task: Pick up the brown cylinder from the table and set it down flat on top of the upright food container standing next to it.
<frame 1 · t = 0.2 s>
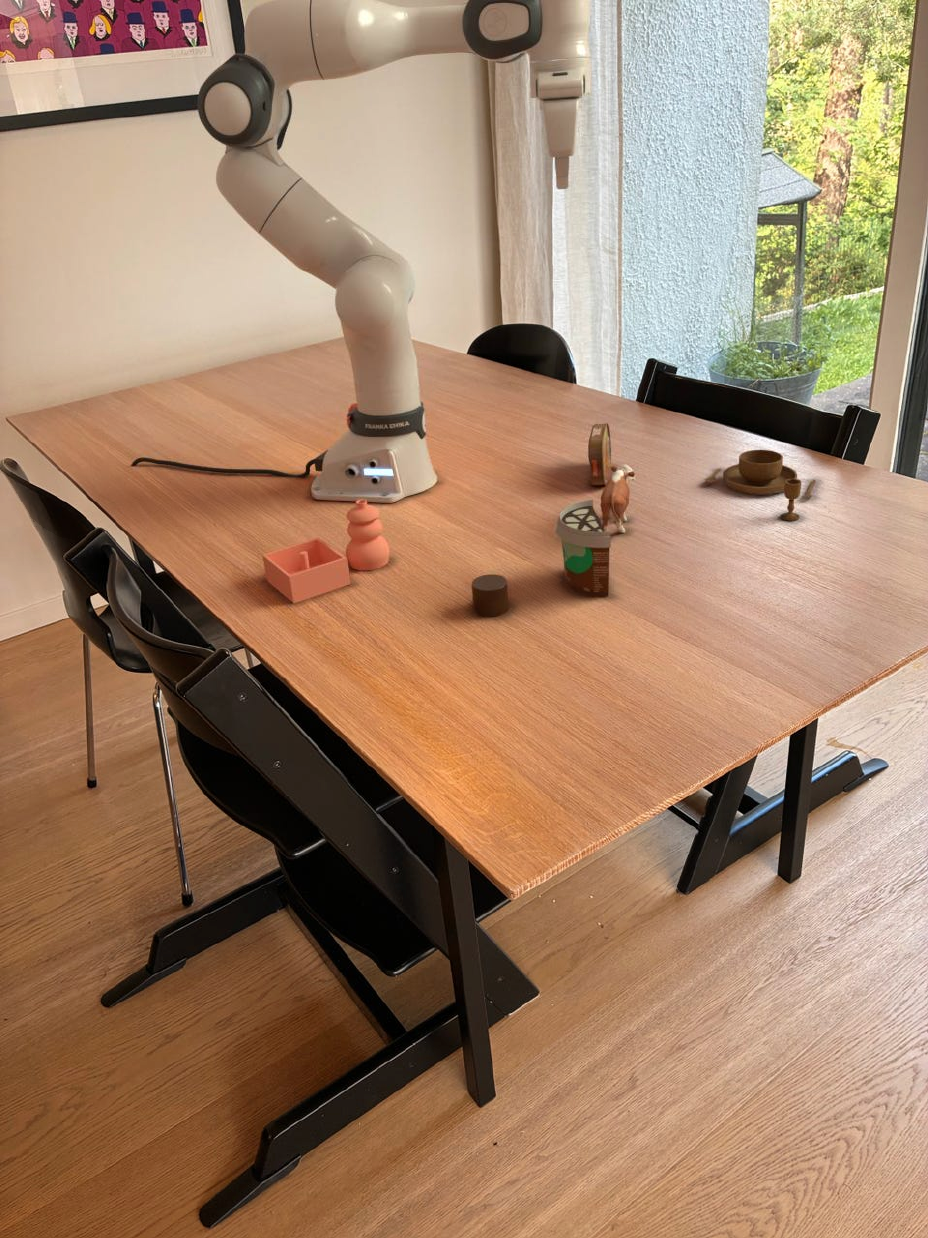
hand: (562, 185, 152), 48 cm above the table, tool pointing down, fingers open, 8 cm apart
bull figurine: (616, 525, 157), on the table
brown cylinder: (491, 608, 135), on the table
tin: (600, 477, 175), on the table
pottery: (335, 574, 148), on the table
food container: (579, 584, 140), on the table
place setting: (755, 494, 163), on the table
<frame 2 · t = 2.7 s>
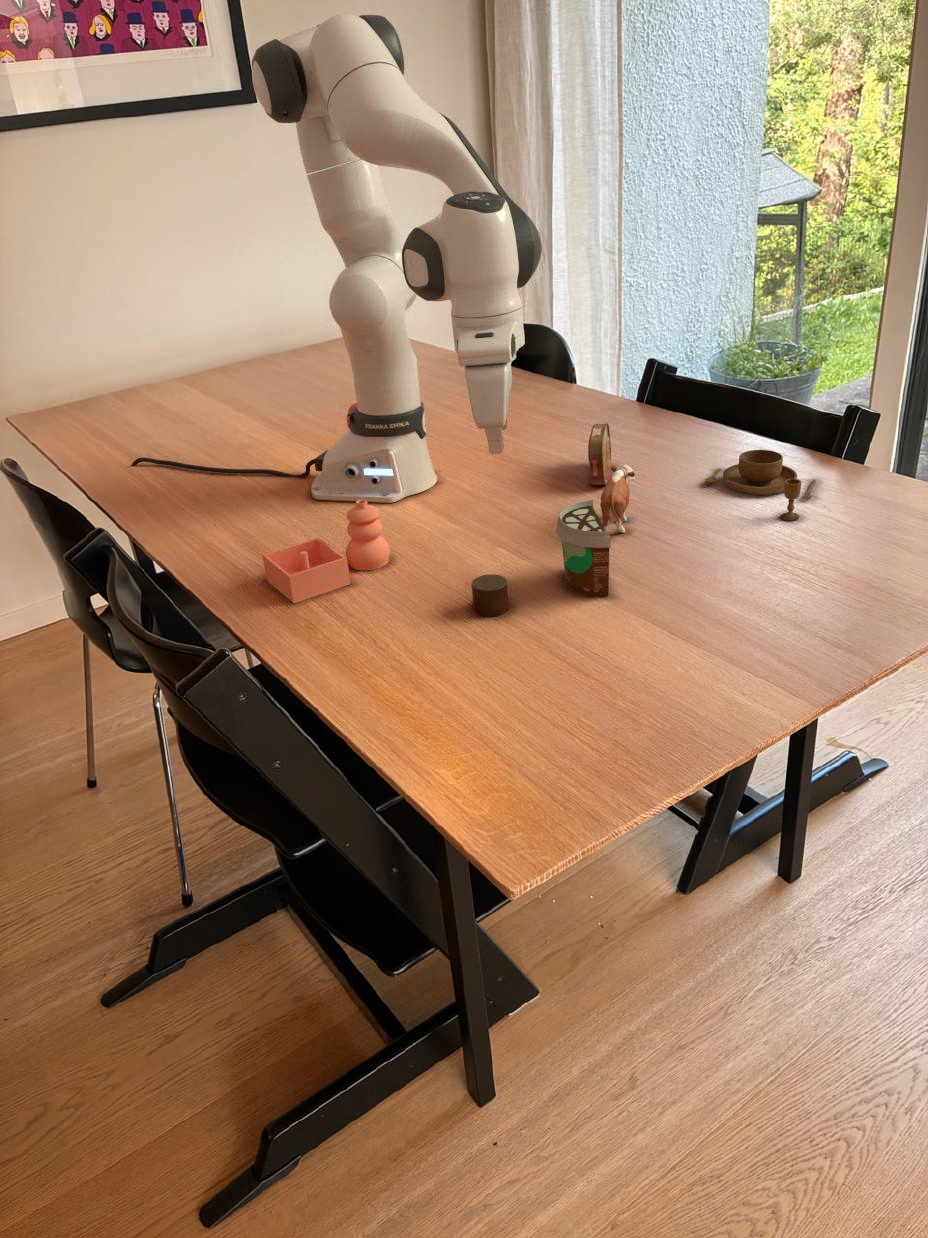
hand: (498, 439, 131), 21 cm above the table, tool pointing down, fingers open, 8 cm apart
nothing on the table moved.
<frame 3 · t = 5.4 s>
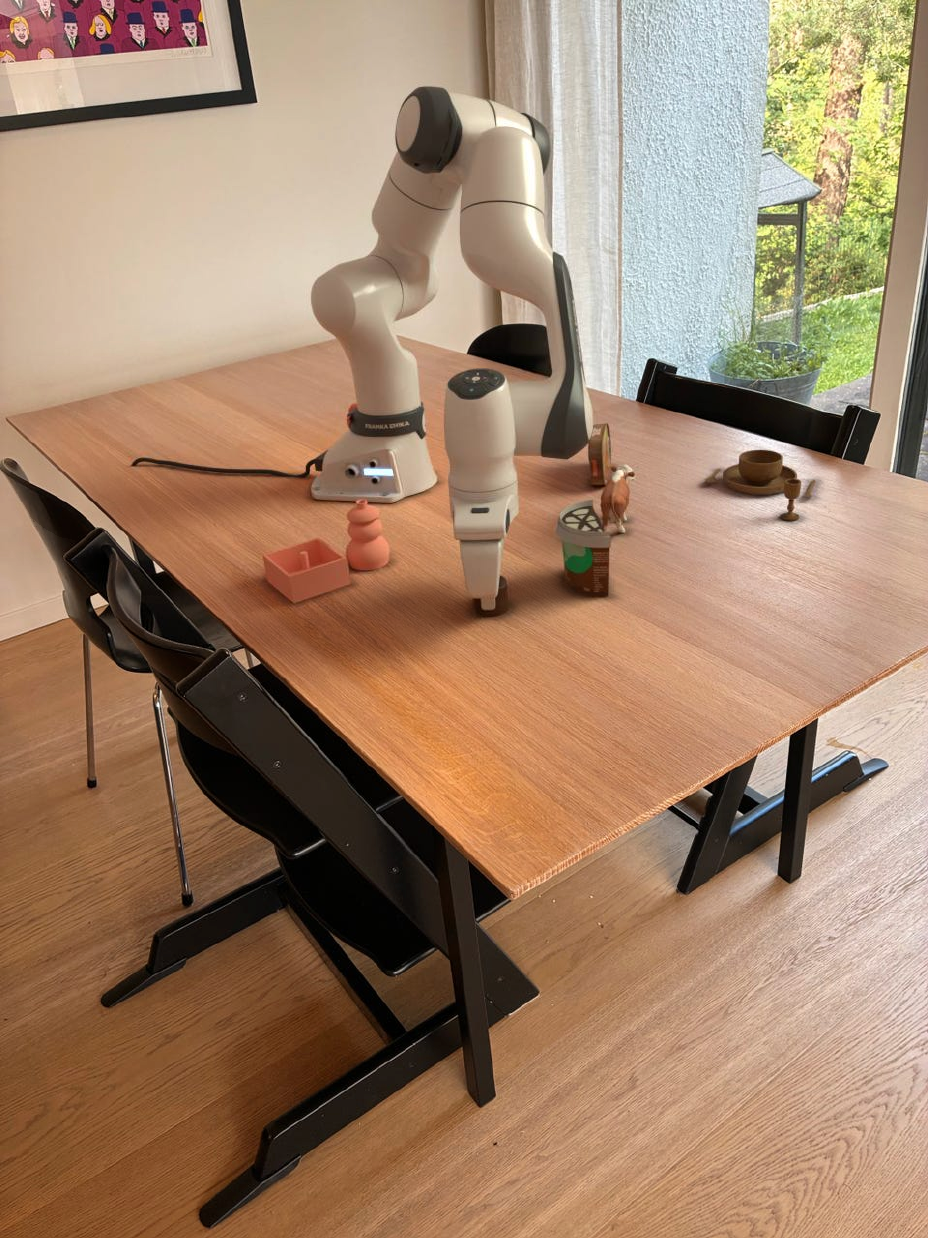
hand: (490, 596, 134), 2 cm above the table, tool pointing down, fingers closed on brown cylinder, 5 cm apart
brown cylinder: (491, 608, 135), on the table, touching gripper
everything else where it was.
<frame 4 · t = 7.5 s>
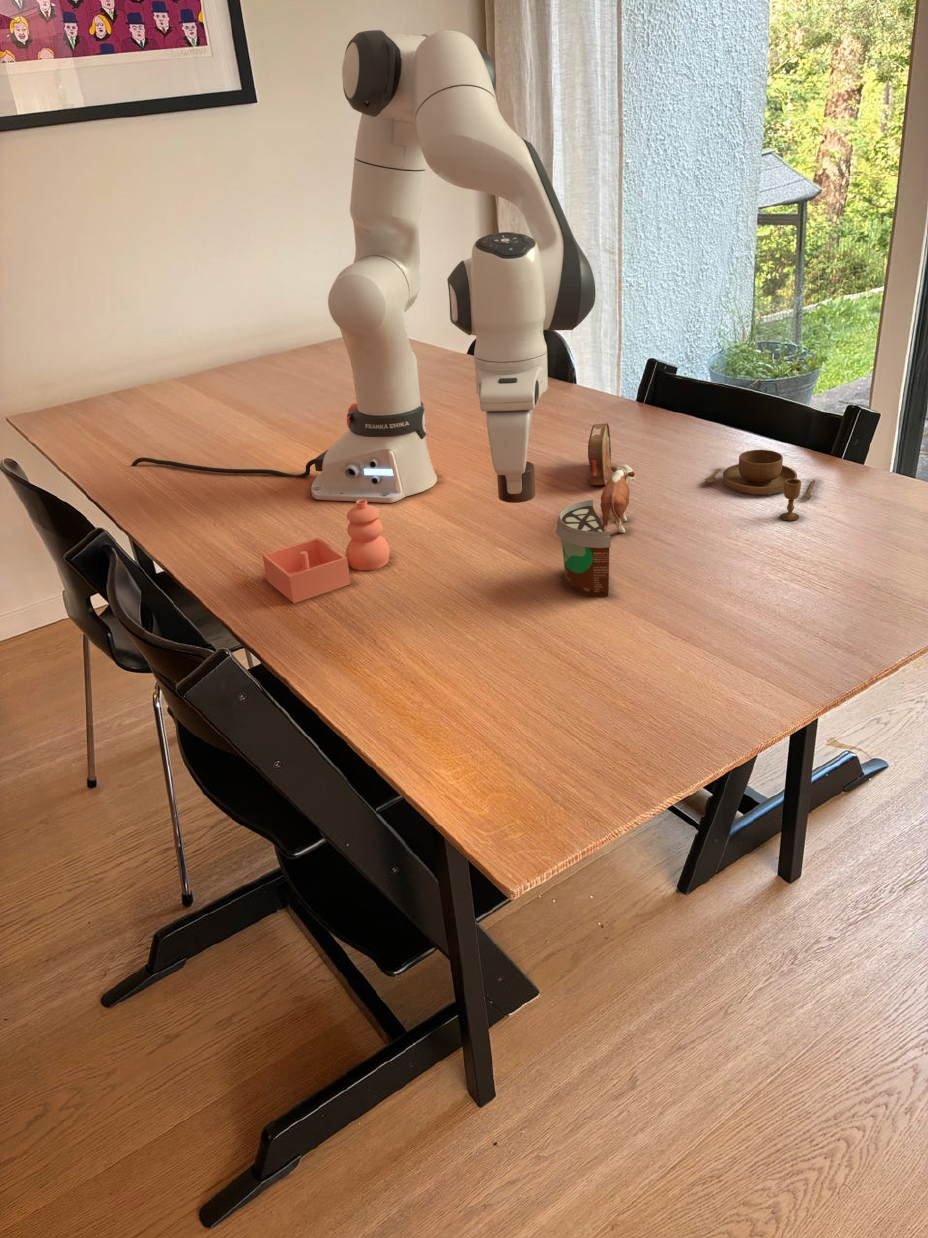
hand: (516, 482, 128), 17 cm above the table, tool pointing down, fingers closed on brown cylinder, 5 cm apart
brown cylinder: (516, 495, 129), point 15 cm above the table, touching gripper
everything else where it was.
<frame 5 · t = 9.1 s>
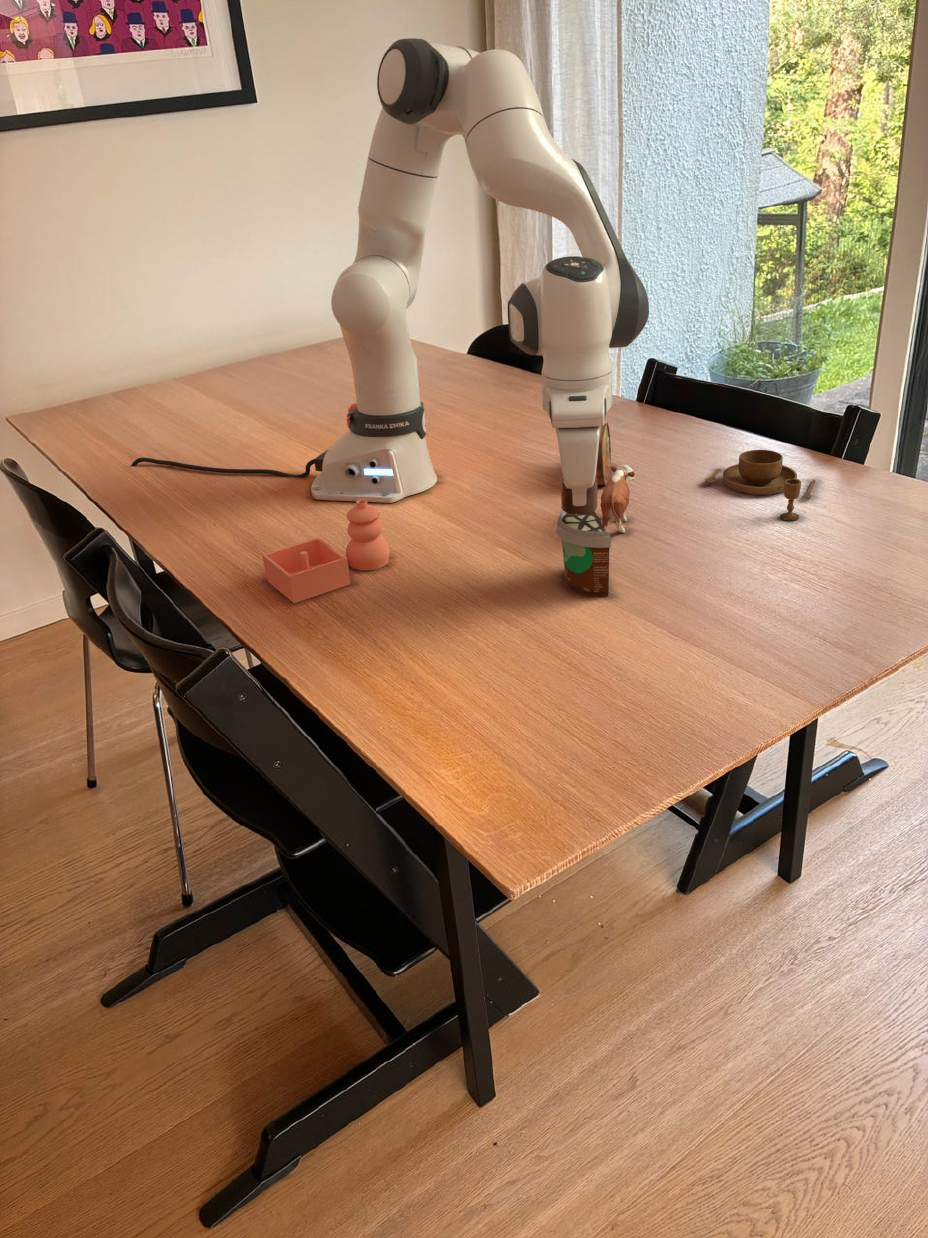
hand: (579, 495, 133), 13 cm above the table, tool pointing down, fingers closed on brown cylinder, 5 cm apart
brown cylinder: (579, 507, 134), point 11 cm above the table, touching gripper
everything else where it was.
when the fingers open (12 cm above the table, at t = 9.9 s): brown cylinder stays where it is, resting on food container.
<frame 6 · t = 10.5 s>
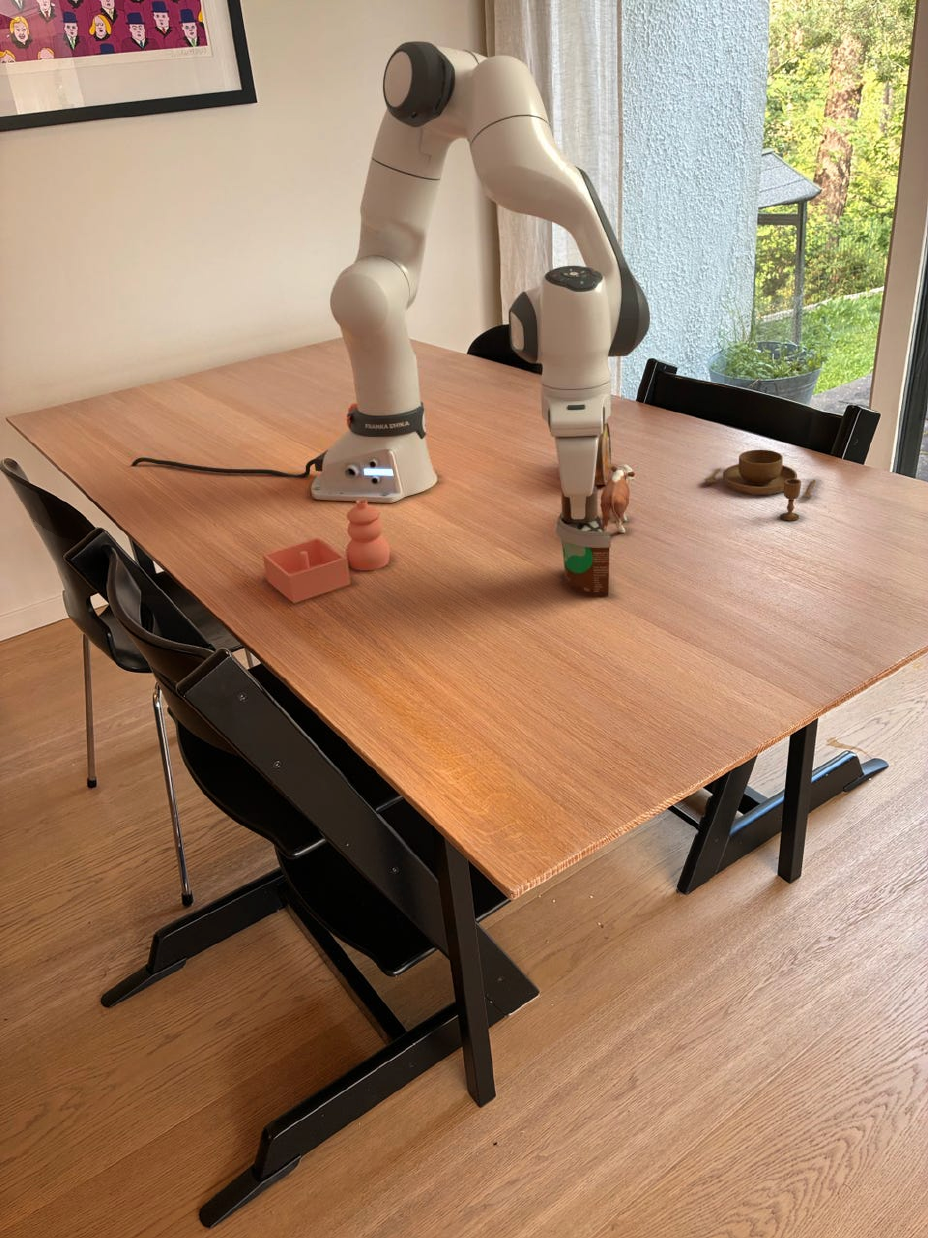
hand: (577, 503, 134), 12 cm above the table, tool pointing down, fingers open, 8 cm apart
brown cylinder: (579, 516, 135), point 10 cm above the table, touching food container
food container: (579, 584, 140), on the table, touching brown cylinder
everything else where it was.
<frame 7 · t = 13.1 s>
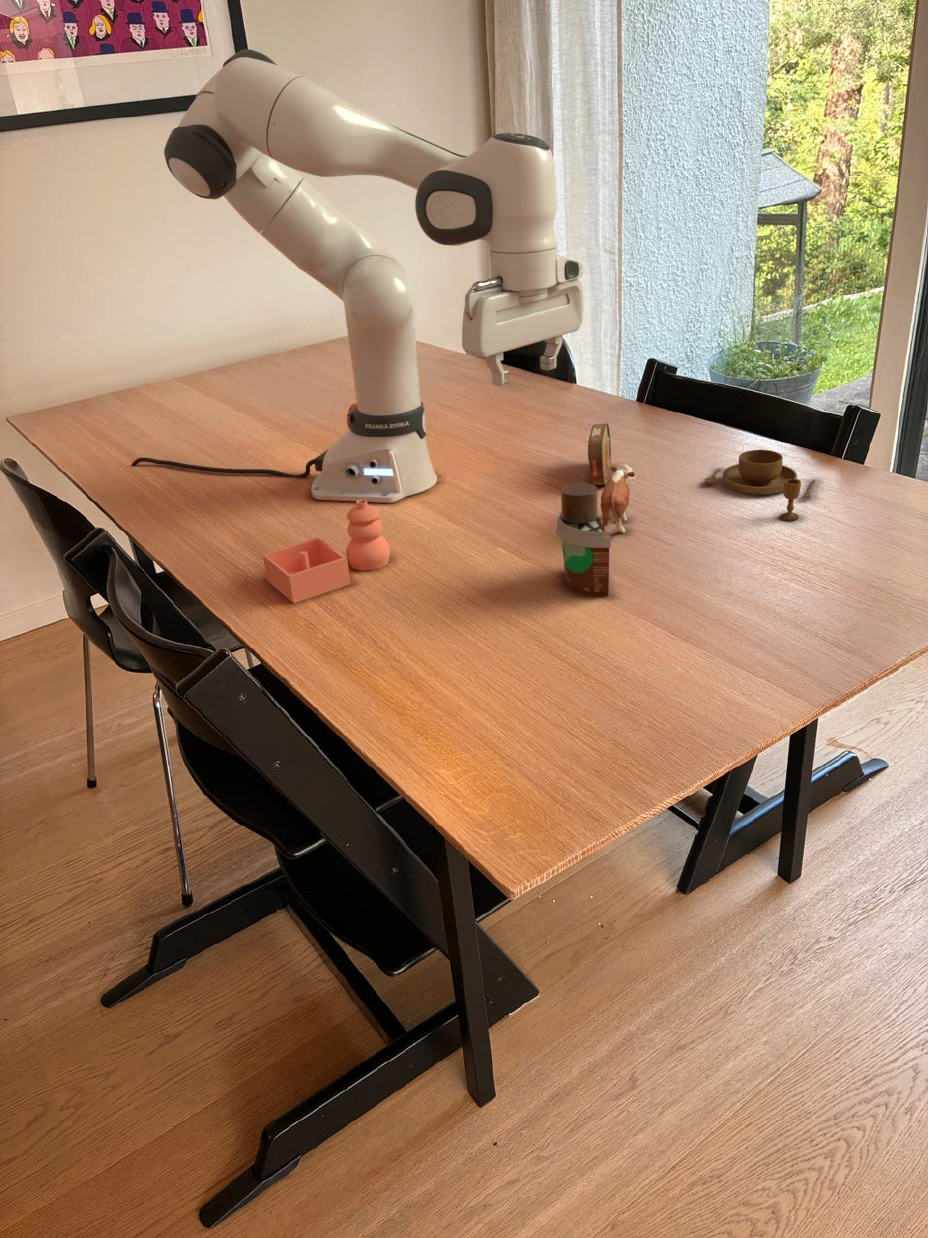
hand: (525, 376, 137), 27 cm above the table, tool pointing down, fingers open, 8 cm apart
nothing on the table moved.
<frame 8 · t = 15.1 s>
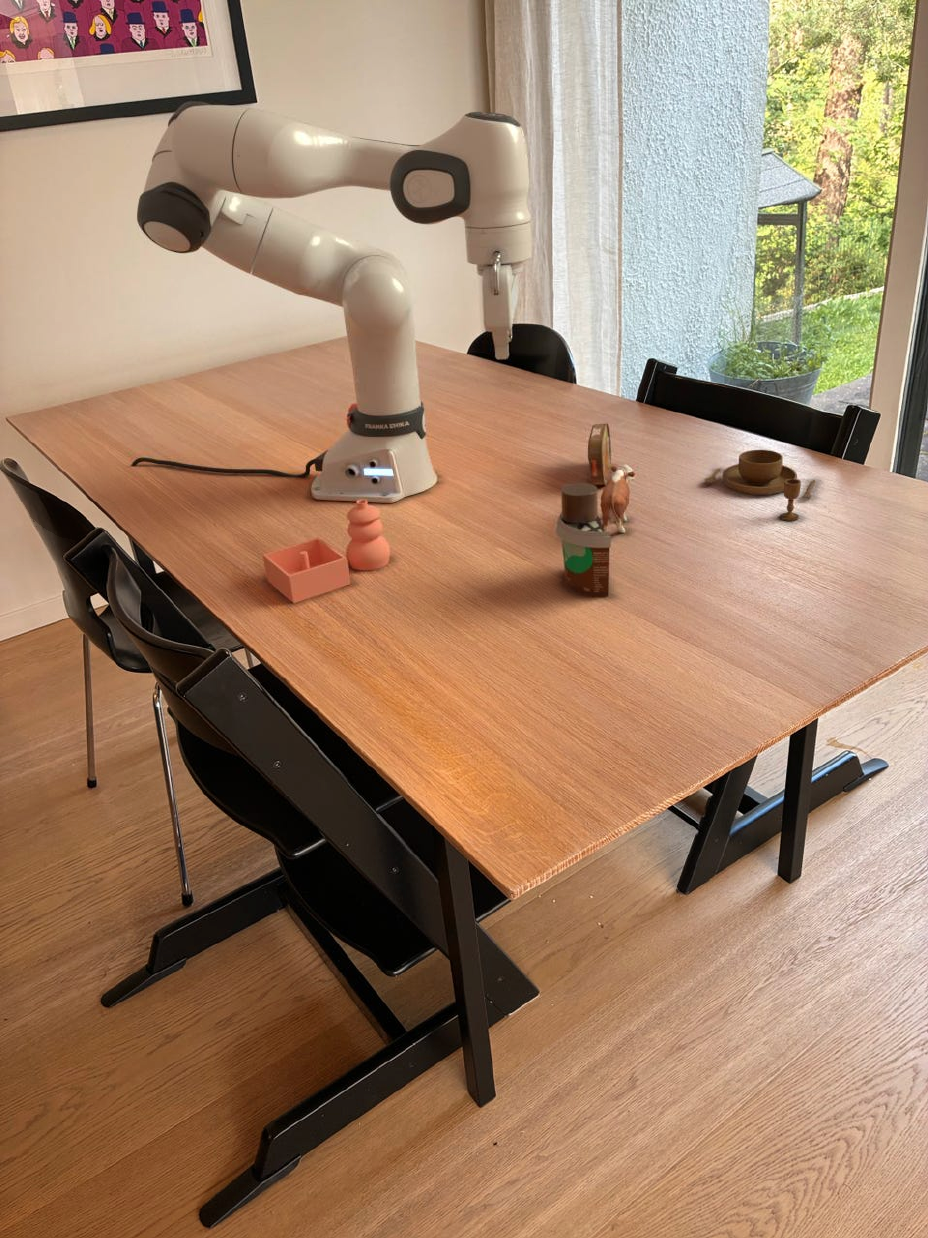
hand: (504, 349, 141), 29 cm above the table, tool pointing down, fingers open, 8 cm apart
nothing on the table moved.
at the end: brown cylinder inside the target area on the food container (0.1 cm from its centre), point 10.2 cm above the food container's base; brown cylinder touching food container; brown cylinder tilted 0° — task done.
